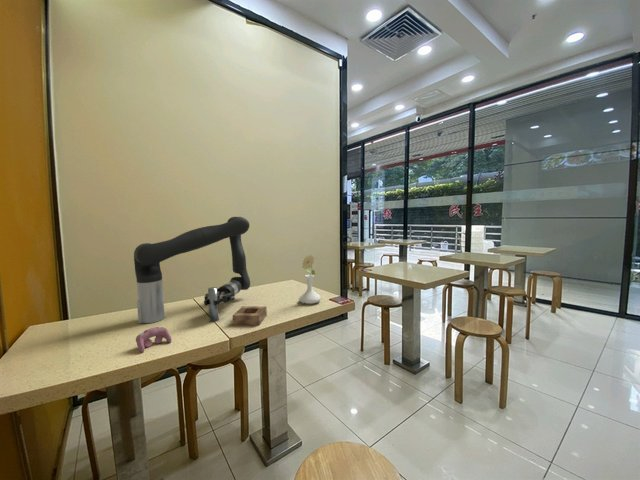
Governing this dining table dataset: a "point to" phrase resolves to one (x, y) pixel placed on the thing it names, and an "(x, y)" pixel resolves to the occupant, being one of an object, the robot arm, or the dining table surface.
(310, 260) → the flower in vase
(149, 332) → the pink curved piece
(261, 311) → the square wooden ashtray
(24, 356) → the dining table surface
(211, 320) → the metal rod
